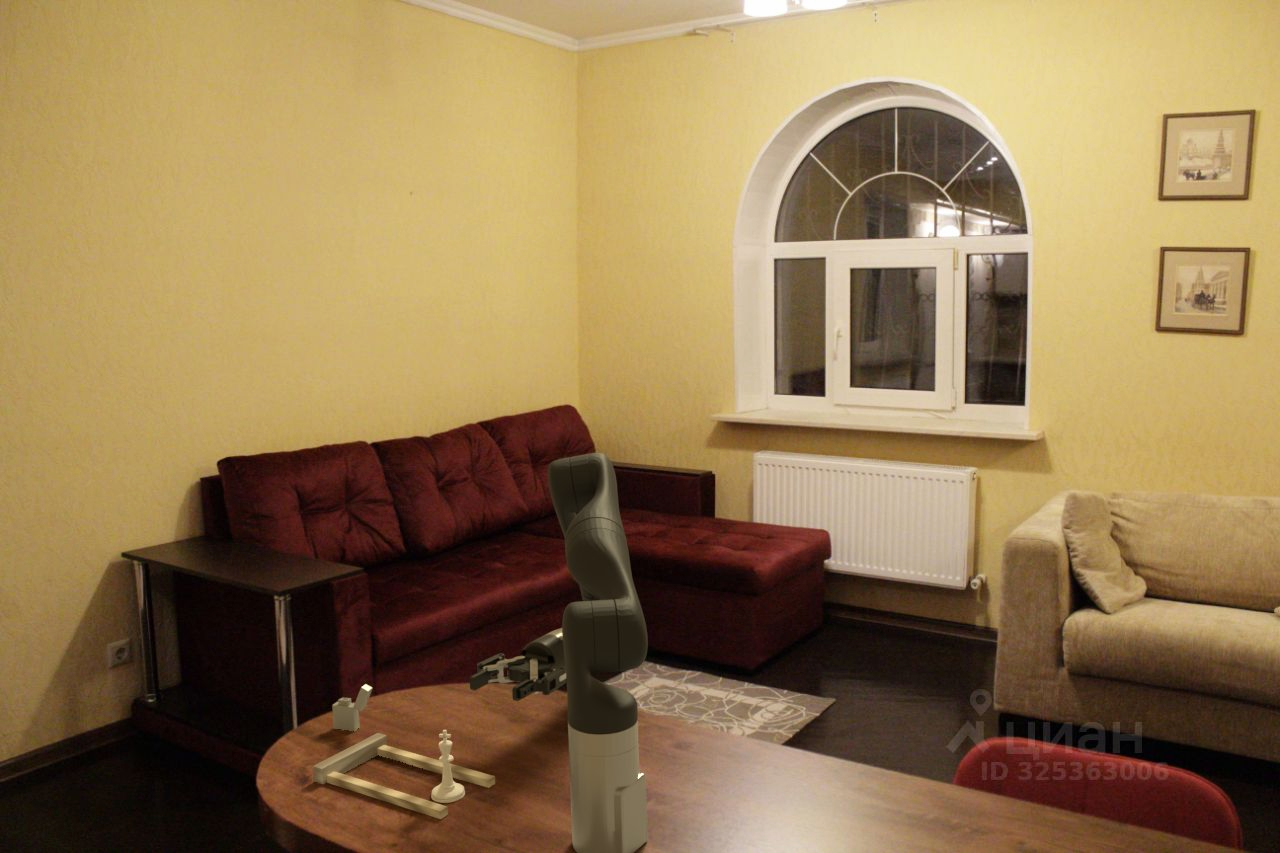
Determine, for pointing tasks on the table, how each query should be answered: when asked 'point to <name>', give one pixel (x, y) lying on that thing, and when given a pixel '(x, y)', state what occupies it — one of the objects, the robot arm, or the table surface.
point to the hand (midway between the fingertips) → (492, 689)
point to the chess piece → (447, 775)
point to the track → (363, 752)
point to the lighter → (350, 710)
